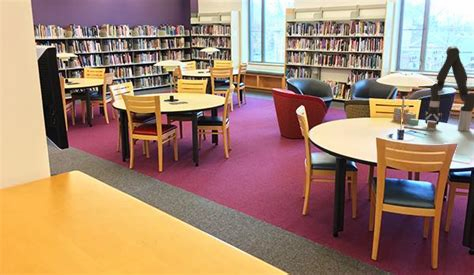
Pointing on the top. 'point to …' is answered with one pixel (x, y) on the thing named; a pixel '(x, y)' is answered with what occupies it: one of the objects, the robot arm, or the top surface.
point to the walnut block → (431, 124)
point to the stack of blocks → (406, 115)
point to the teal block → (414, 122)
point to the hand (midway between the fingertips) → (431, 124)
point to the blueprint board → (419, 128)
